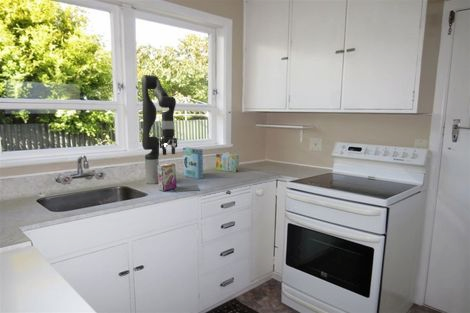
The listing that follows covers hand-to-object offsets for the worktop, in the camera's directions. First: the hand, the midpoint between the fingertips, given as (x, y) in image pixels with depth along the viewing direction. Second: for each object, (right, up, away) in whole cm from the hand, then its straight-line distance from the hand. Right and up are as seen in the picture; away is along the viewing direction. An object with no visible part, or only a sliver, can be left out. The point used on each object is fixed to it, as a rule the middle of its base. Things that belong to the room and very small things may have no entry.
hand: (169, 154), depth 191 cm
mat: (+9, -23, +13) cm, 28 cm away
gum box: (+8, -18, +51) cm, 55 cm away
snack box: (+34, -14, +80) cm, 88 cm away
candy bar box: (-3, -23, +10) cm, 25 cm away
